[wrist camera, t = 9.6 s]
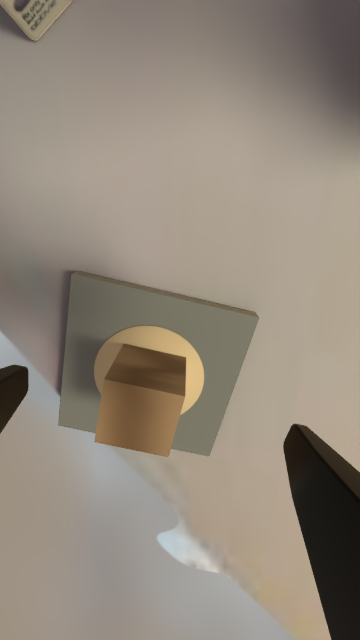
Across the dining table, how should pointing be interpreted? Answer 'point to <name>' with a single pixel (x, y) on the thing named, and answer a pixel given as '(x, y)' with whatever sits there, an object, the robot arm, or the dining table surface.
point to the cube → (142, 400)
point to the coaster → (156, 334)
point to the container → (35, 14)
